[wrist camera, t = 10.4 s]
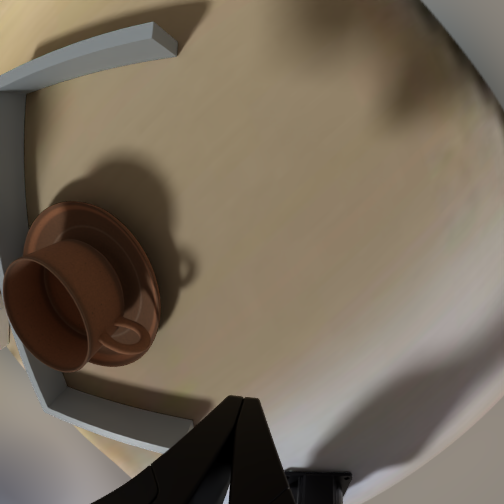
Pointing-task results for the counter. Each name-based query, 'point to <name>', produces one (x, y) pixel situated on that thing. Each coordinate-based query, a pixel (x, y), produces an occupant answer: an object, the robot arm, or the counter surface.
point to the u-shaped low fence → (16, 228)
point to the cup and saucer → (82, 290)
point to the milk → (3, 325)
